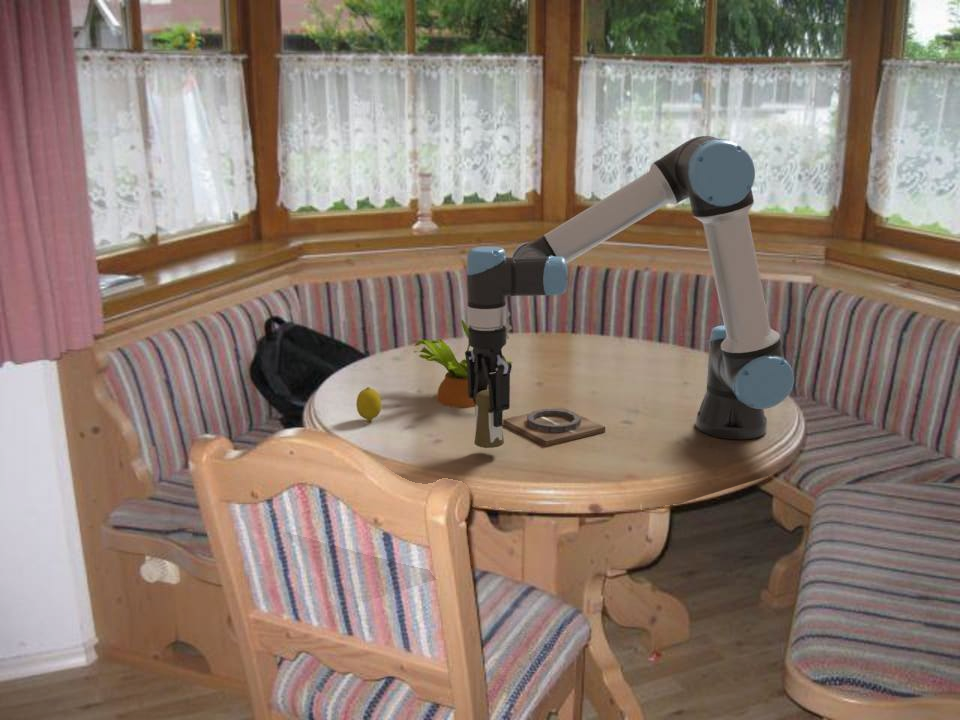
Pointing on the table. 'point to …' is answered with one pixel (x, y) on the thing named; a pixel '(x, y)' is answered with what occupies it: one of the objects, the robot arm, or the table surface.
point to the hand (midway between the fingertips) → (489, 436)
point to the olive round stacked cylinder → (484, 422)
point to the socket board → (553, 426)
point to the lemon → (368, 403)
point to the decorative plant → (453, 371)
